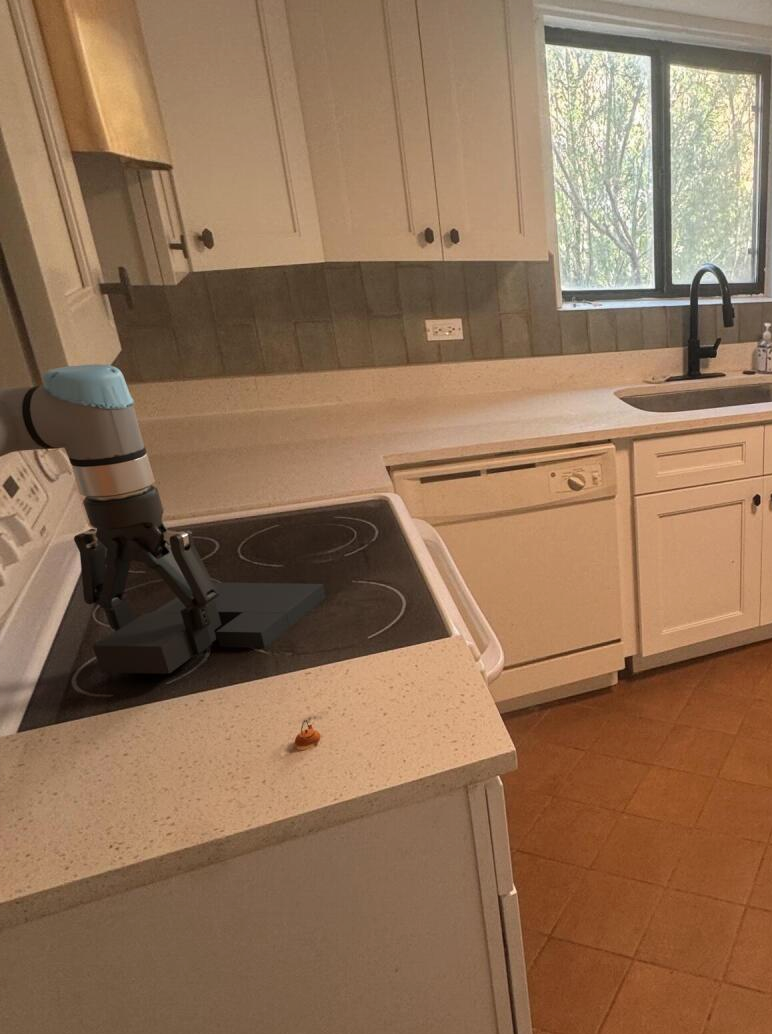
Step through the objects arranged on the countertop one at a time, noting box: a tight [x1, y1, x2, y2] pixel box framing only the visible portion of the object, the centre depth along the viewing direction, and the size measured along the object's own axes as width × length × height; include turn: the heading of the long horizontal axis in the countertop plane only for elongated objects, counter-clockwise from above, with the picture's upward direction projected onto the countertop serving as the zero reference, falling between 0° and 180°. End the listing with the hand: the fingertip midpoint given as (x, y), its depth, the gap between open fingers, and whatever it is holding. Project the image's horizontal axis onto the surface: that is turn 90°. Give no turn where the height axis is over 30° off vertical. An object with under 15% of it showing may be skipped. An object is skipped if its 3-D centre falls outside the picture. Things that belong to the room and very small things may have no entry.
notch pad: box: [151, 581, 327, 649], centre depth 118 cm, size 20×16×4 cm
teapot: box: [294, 719, 322, 751], centre depth 92 cm, size 3×3×3 cm
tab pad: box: [92, 600, 222, 675], centre depth 106 cm, size 9×13×4 cm
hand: (167, 648), depth 106 cm, fingers closed on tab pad, 9 cm apart
